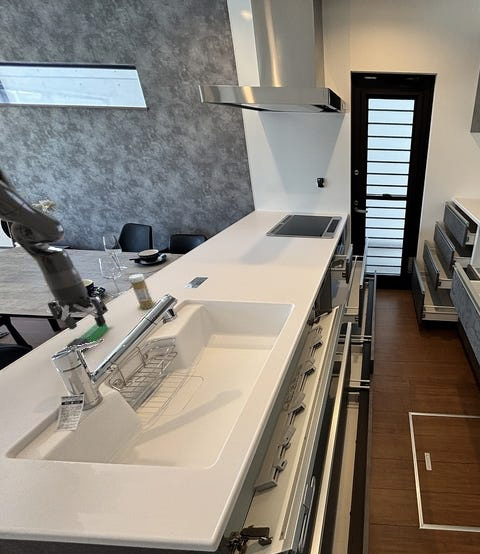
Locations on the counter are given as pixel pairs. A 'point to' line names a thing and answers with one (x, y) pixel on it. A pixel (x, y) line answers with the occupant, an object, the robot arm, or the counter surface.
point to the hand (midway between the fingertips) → (88, 326)
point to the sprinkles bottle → (141, 291)
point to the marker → (89, 336)
